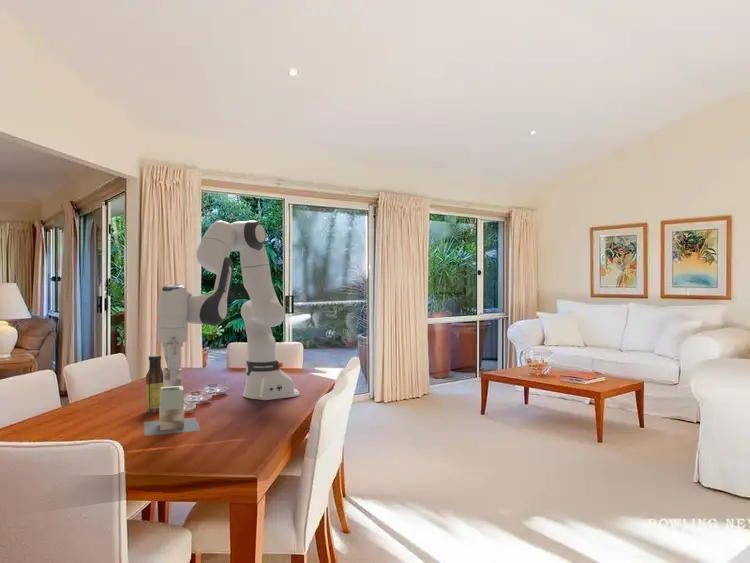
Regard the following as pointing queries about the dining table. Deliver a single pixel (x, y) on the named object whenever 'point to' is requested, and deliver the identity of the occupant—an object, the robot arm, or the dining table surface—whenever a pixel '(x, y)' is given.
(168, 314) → the robot arm
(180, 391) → the sage block
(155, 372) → the sauce bottle
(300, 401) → the dining table surface
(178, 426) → the birch block
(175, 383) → the cream cube
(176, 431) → the slate mat
